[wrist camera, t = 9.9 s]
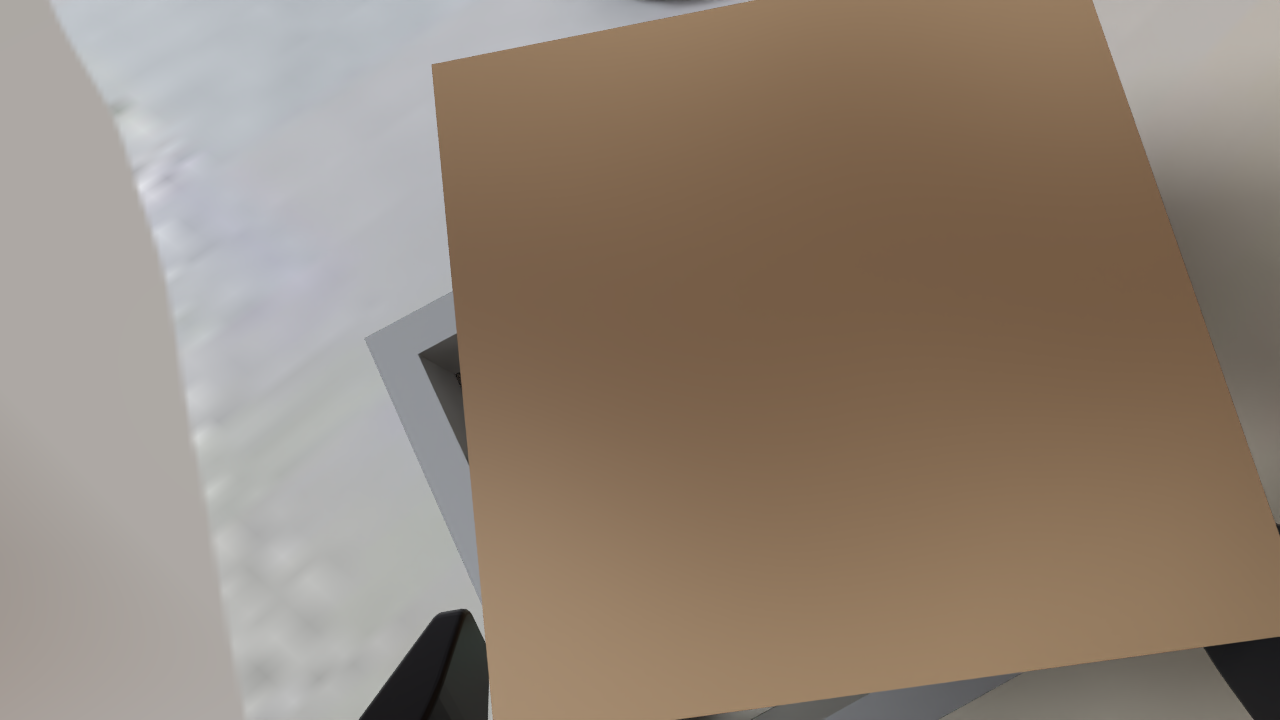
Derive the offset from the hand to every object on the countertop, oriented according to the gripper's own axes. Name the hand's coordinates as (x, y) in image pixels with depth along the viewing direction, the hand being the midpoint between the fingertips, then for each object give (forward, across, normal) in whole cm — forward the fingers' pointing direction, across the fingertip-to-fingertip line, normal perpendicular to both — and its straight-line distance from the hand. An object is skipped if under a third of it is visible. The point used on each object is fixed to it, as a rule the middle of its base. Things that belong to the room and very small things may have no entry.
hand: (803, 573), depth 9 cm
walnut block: (+7, 0, +4) cm, 8 cm away
